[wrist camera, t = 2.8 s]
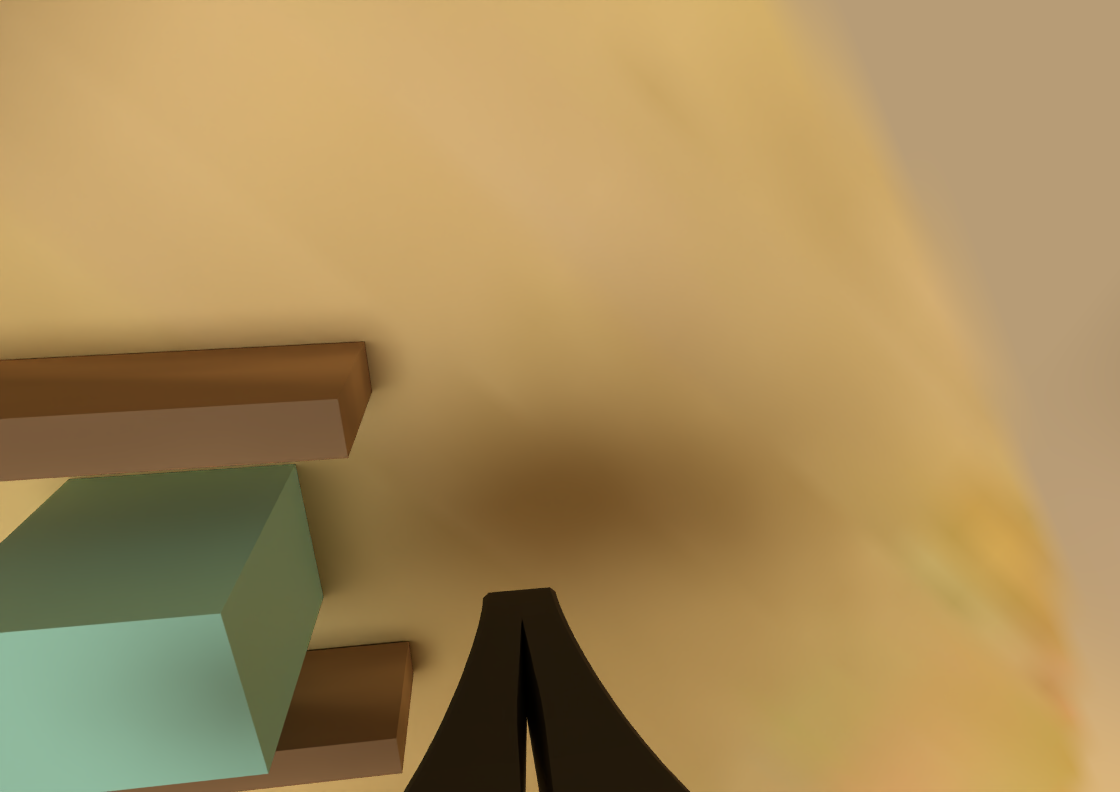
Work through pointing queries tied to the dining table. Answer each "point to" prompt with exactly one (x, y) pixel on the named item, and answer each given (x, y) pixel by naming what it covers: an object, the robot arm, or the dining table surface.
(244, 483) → the block
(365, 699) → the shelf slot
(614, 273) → the dining table surface
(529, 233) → the dining table surface
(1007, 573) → the dining table surface
